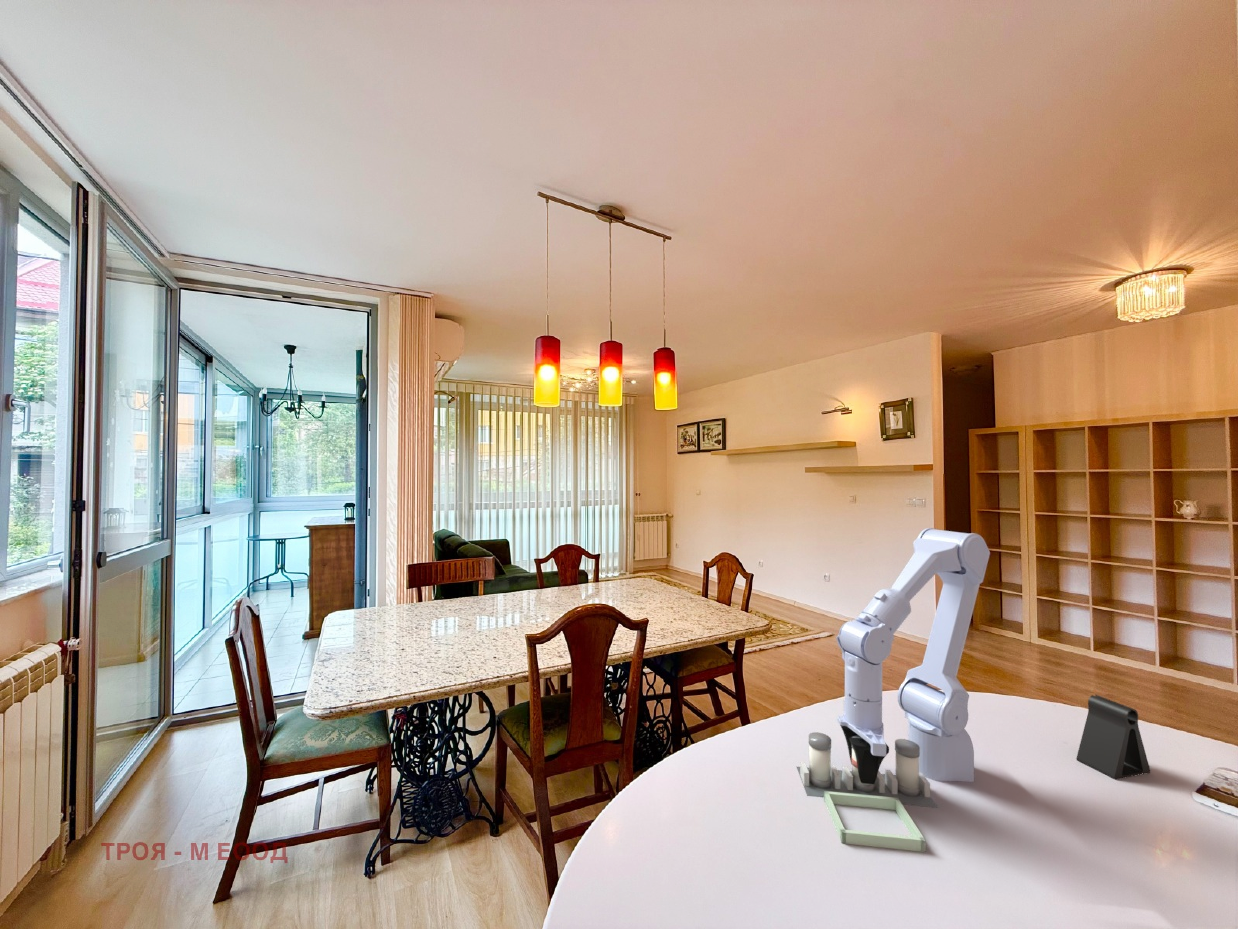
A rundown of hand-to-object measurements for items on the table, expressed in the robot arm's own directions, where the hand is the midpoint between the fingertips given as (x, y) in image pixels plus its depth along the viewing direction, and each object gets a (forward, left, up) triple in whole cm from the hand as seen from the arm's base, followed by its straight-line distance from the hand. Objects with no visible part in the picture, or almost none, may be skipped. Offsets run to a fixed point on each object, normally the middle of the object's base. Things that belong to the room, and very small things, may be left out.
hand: (862, 775), depth 84 cm
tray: (+2, +10, -3) cm, 10 cm away
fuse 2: (-7, 0, -2) cm, 7 cm away
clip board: (0, 0, -3) cm, 3 cm away
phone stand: (-49, -15, -3) cm, 51 cm away
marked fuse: (0, 0, -2) cm, 2 cm away
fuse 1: (+7, 0, -2) cm, 7 cm away
